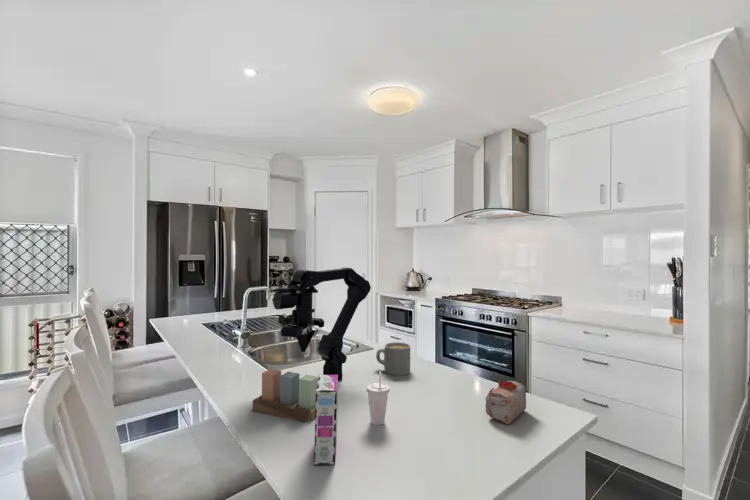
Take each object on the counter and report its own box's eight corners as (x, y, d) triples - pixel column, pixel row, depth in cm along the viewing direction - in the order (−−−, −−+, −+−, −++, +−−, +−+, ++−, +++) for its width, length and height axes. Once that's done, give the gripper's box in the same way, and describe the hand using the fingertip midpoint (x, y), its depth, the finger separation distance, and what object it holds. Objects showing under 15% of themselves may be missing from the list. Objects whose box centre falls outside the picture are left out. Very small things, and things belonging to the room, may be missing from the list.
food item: (511, 428, 97) (511, 392, 97) (483, 419, 102) (483, 384, 102) (528, 412, 107) (529, 378, 107) (502, 404, 112) (502, 372, 112)
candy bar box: (336, 465, 79) (337, 391, 79) (313, 466, 79) (314, 391, 79) (337, 438, 90) (338, 373, 90) (317, 439, 90) (318, 373, 90)
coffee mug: (413, 369, 143) (414, 344, 143) (404, 377, 134) (404, 350, 134) (383, 364, 149) (383, 340, 149) (372, 371, 140) (372, 345, 140)
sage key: (306, 408, 107) (306, 374, 107) (317, 410, 106) (318, 376, 106) (298, 413, 103) (299, 379, 103) (310, 416, 102) (311, 381, 102)
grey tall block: (287, 404, 109) (288, 371, 109) (298, 406, 108) (299, 373, 108) (279, 409, 106) (280, 375, 106) (291, 412, 104) (291, 377, 104)
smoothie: (387, 428, 96) (387, 376, 96) (363, 426, 97) (364, 374, 97) (390, 417, 102) (391, 368, 102) (368, 415, 103) (369, 366, 103)
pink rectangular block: (270, 400, 112) (270, 368, 112) (280, 403, 110) (281, 370, 110) (261, 406, 108) (262, 372, 108) (272, 408, 107) (272, 374, 107)
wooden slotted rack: (271, 397, 115) (271, 387, 115) (327, 408, 107) (327, 398, 107) (249, 410, 106) (249, 399, 106) (309, 423, 98) (309, 412, 98)
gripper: (299, 301, 135) (298, 342, 136) (267, 308, 118) (266, 356, 118) (325, 303, 131) (324, 346, 131) (296, 311, 114) (295, 360, 114)
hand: (303, 351), depth 124 cm, fingers closed
